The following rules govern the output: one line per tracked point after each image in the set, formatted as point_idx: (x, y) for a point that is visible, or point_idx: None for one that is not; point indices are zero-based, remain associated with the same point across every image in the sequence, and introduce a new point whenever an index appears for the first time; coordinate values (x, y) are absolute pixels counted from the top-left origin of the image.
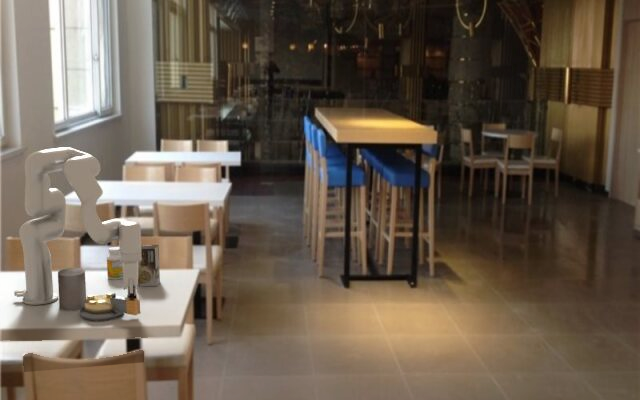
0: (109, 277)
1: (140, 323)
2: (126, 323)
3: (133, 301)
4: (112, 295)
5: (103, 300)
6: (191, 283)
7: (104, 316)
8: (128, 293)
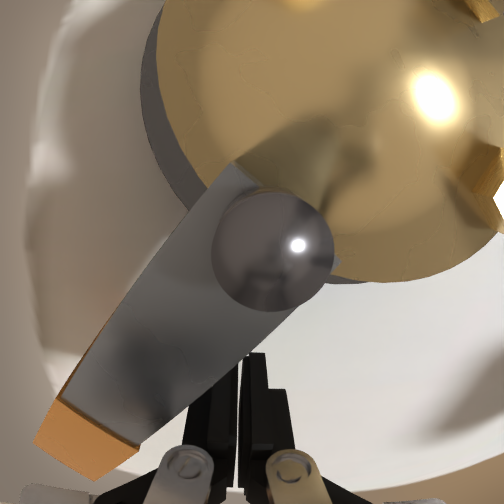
0: None
1: (78, 351)
2: (78, 275)
3: (38, 433)
4: (221, 227)
5: (392, 77)
6: (490, 457)
7: (143, 100)
8: (156, 484)
